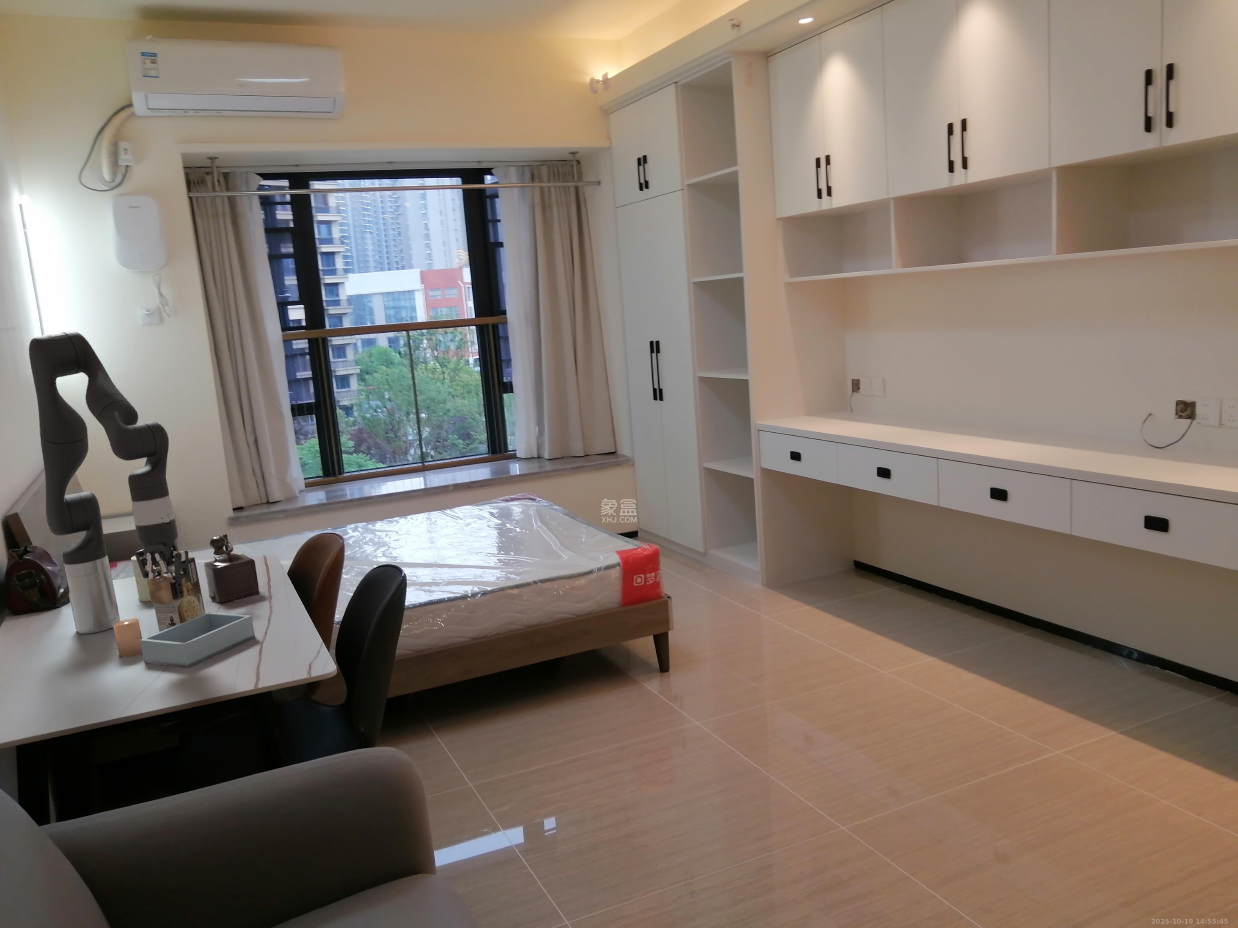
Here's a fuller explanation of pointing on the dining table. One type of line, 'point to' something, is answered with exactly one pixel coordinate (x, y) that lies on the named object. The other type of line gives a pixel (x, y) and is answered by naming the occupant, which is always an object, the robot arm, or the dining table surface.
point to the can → (140, 581)
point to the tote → (197, 639)
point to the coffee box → (182, 602)
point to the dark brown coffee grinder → (230, 573)
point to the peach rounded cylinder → (128, 637)
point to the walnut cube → (163, 590)
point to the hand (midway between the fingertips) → (169, 597)
